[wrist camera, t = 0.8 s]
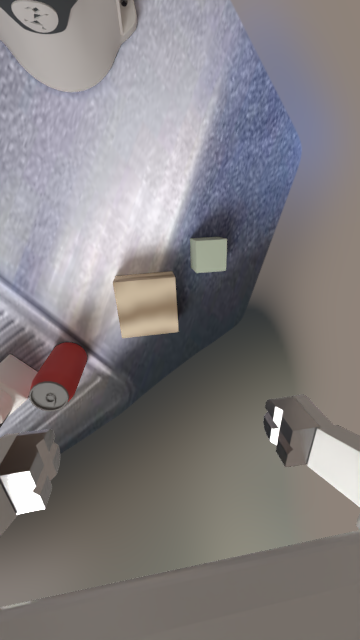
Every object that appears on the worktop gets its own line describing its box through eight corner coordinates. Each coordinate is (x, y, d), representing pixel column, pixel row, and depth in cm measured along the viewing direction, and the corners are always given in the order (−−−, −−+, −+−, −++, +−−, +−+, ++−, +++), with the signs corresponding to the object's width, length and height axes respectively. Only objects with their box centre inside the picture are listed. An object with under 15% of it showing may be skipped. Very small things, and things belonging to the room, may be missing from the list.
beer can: (57, 371, 48) (32, 417, 37) (48, 342, 45) (18, 382, 34) (91, 367, 49) (76, 410, 38) (84, 338, 46) (66, 376, 35)
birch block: (115, 275, 43) (112, 282, 38) (171, 270, 44) (175, 277, 39) (124, 326, 47) (122, 338, 42) (175, 320, 48) (178, 331, 43)
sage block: (190, 238, 42) (196, 241, 37) (217, 236, 42) (227, 239, 38) (190, 267, 44) (196, 273, 39) (217, 265, 44) (226, 270, 40)
